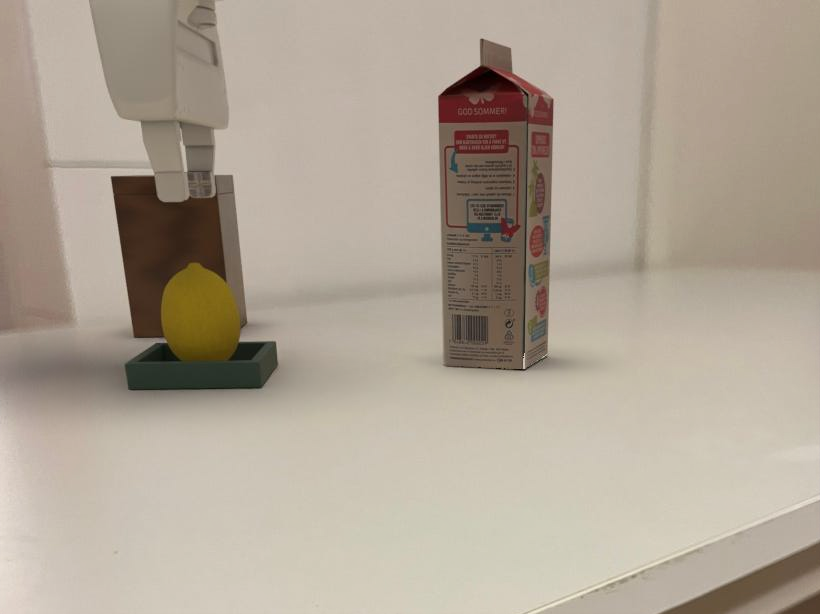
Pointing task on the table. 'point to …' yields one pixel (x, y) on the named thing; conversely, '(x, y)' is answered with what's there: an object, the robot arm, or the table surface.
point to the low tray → (202, 368)
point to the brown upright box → (174, 244)
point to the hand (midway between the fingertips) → (189, 200)
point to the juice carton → (495, 215)
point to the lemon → (200, 316)
